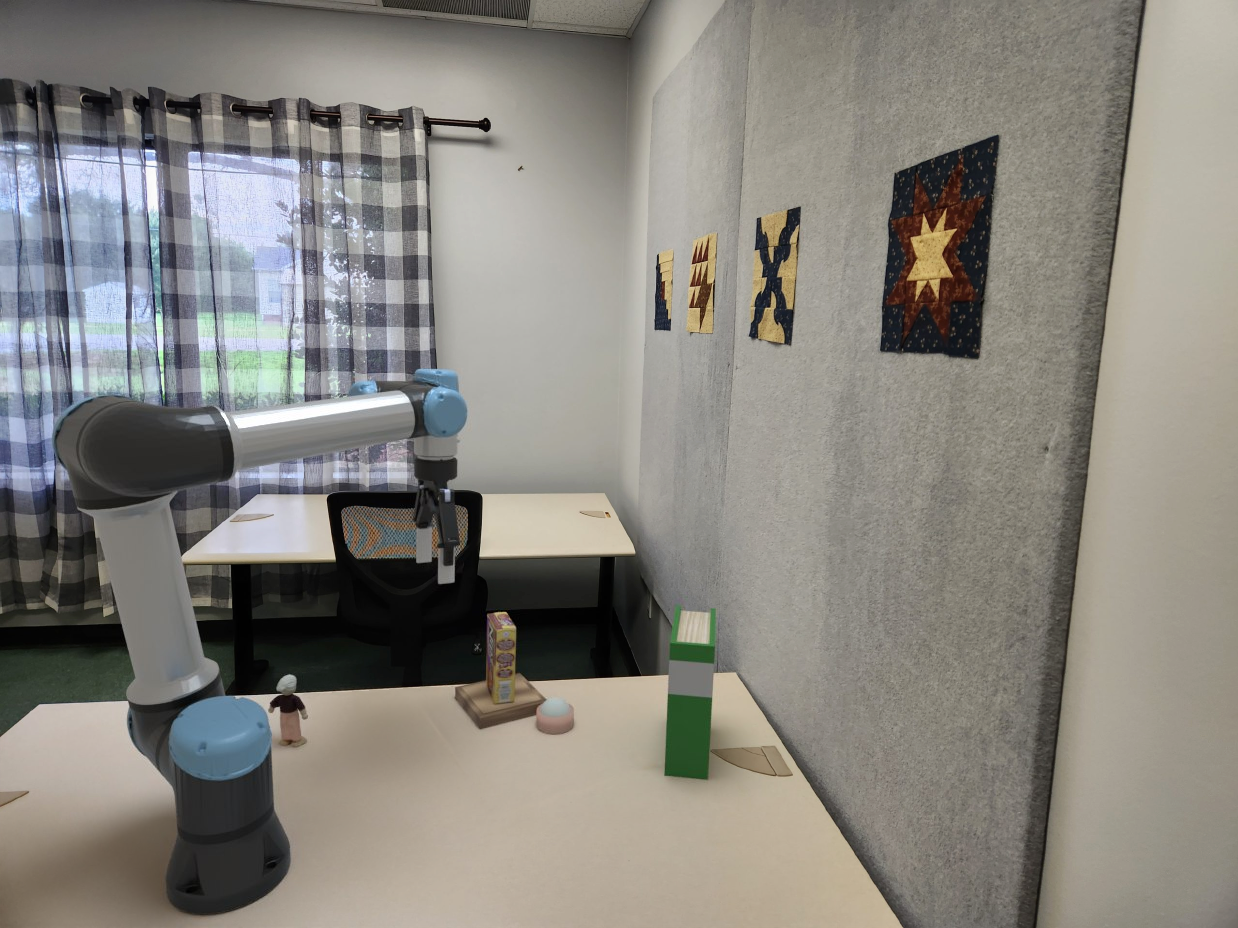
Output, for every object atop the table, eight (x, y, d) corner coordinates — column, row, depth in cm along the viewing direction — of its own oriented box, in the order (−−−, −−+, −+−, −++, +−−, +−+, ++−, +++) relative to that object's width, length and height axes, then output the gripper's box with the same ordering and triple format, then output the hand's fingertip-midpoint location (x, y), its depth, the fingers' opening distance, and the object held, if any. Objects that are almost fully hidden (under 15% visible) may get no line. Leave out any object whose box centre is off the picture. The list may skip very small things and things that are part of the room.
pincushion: (579, 732, 144) (580, 702, 143) (546, 741, 140) (546, 711, 139) (563, 715, 150) (563, 687, 149) (530, 724, 146) (530, 695, 145)
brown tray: (548, 715, 150) (548, 700, 149) (480, 732, 143) (480, 717, 142) (519, 686, 161) (519, 672, 161) (455, 700, 154) (455, 686, 154)
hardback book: (670, 723, 148) (676, 605, 144) (709, 727, 147) (715, 608, 143) (664, 775, 131) (669, 642, 127) (707, 779, 130) (715, 646, 126)
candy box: (516, 701, 148) (517, 627, 145) (494, 705, 147) (494, 629, 144) (506, 681, 156) (507, 610, 154) (485, 684, 155) (485, 612, 152)
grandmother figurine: (315, 736, 140) (313, 671, 137) (307, 748, 136) (303, 681, 134) (274, 735, 140) (270, 670, 137) (264, 746, 136) (260, 679, 134)
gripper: (480, 466, 127) (478, 589, 131) (435, 446, 149) (434, 552, 152) (436, 468, 124) (434, 594, 127) (396, 447, 145) (396, 556, 148)
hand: (434, 572), depth 139 cm, fingers open, 13 cm apart
